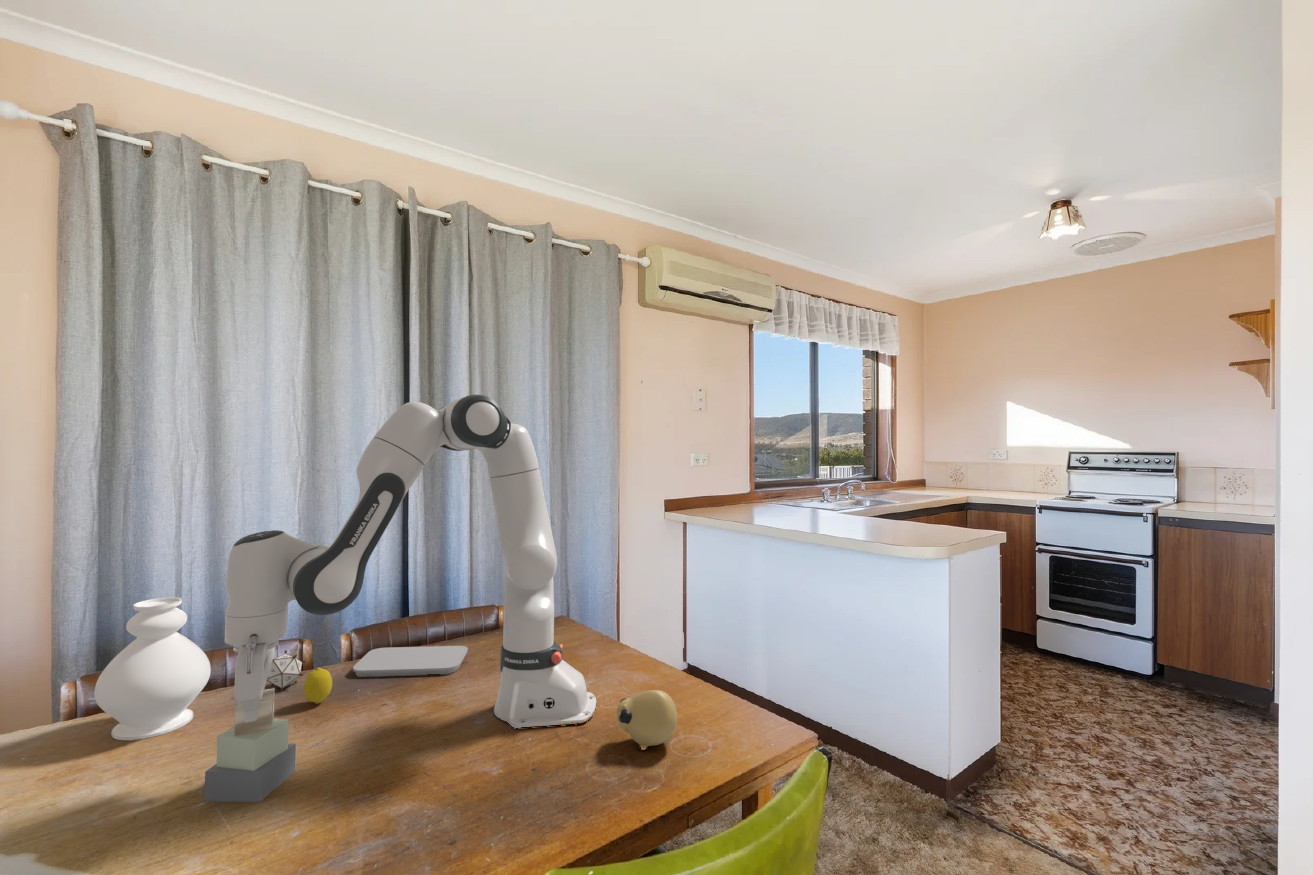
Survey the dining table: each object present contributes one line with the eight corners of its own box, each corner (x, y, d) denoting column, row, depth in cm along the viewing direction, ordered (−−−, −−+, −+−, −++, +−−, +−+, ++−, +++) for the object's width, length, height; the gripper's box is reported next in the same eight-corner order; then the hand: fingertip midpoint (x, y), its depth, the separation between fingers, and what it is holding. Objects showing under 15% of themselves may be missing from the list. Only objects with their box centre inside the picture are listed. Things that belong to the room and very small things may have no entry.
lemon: (337, 699, 130) (338, 663, 130) (320, 710, 124) (321, 673, 124) (314, 697, 130) (315, 662, 130) (296, 708, 125) (298, 671, 125)
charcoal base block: (294, 772, 101) (295, 743, 101) (259, 803, 92) (260, 772, 92) (244, 771, 101) (245, 742, 101) (204, 802, 92) (205, 771, 92)
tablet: (457, 676, 145) (457, 667, 145) (348, 680, 141) (348, 670, 141) (469, 653, 161) (469, 645, 161) (372, 656, 157) (372, 647, 157)
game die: (276, 707, 133) (247, 681, 128) (280, 681, 140) (253, 656, 135) (314, 685, 135) (287, 659, 130) (316, 660, 142) (291, 635, 138)
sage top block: (287, 748, 100) (288, 719, 100) (254, 771, 93) (254, 740, 93) (252, 744, 101) (253, 716, 101) (216, 766, 94) (217, 736, 94)
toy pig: (618, 731, 118) (619, 679, 118) (676, 732, 117) (677, 680, 118) (613, 756, 108) (614, 700, 108) (677, 758, 107) (678, 701, 108)
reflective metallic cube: (270, 729, 96) (271, 699, 96) (234, 736, 94) (235, 705, 94) (273, 716, 101) (274, 688, 101) (239, 722, 98) (239, 693, 98)
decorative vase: (164, 701, 127) (168, 588, 127) (230, 710, 123) (234, 594, 124) (67, 741, 110) (72, 610, 110) (140, 753, 106) (145, 618, 106)
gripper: (273, 642, 90) (270, 731, 90) (283, 609, 108) (281, 683, 108) (223, 649, 87) (221, 740, 87) (242, 614, 105) (240, 689, 105)
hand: (254, 708), depth 97 cm, fingers open, 8 cm apart
